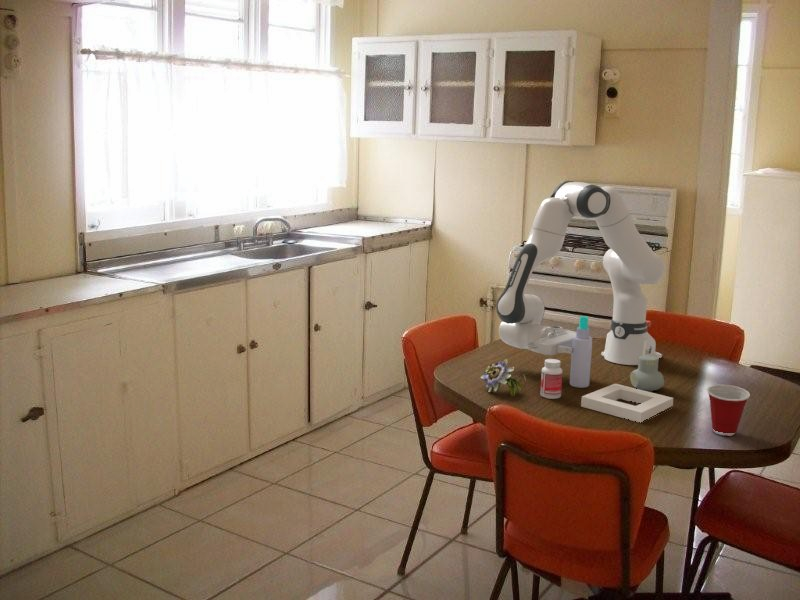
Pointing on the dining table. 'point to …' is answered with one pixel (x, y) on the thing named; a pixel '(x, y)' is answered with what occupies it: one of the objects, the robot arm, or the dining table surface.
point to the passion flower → (501, 377)
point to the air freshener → (647, 374)
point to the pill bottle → (551, 379)
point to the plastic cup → (726, 406)
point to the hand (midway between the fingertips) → (580, 348)
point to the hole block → (607, 404)
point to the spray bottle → (581, 355)
